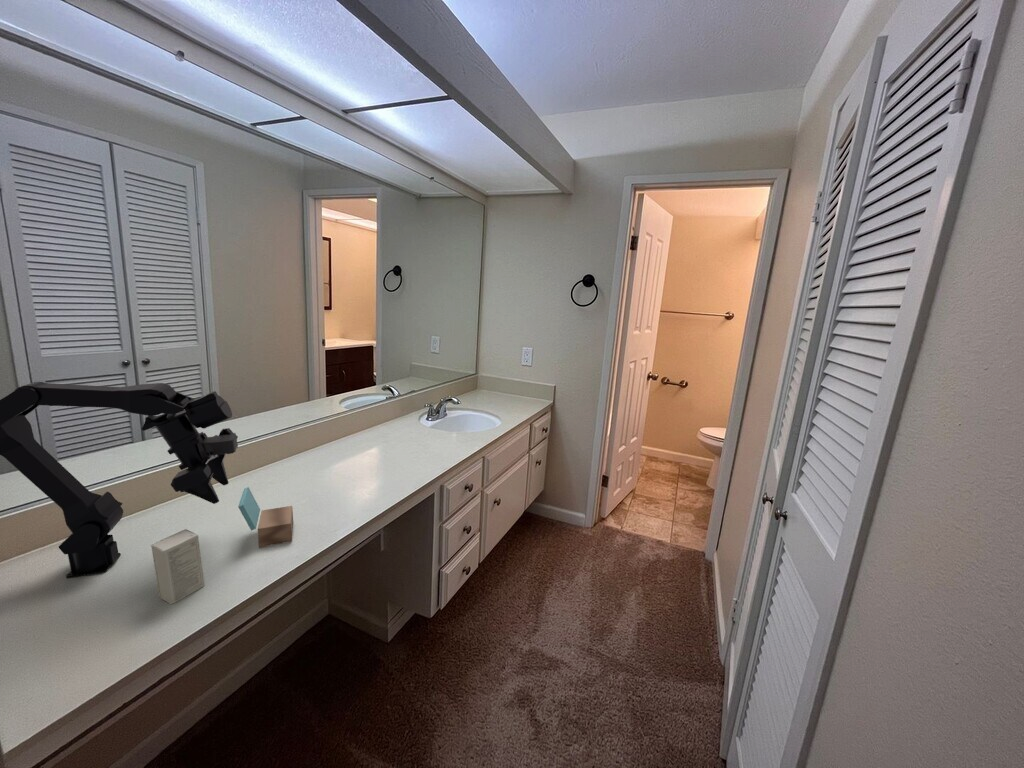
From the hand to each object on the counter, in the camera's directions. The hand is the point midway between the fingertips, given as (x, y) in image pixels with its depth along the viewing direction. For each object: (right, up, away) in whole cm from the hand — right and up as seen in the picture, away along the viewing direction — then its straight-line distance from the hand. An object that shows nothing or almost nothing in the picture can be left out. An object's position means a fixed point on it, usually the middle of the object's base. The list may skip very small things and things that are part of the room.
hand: (221, 493), depth 95 cm
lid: (+4, -5, +4) cm, 8 cm away
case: (+8, -13, +8) cm, 17 cm away
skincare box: (+1, -17, -12) cm, 21 cm away
